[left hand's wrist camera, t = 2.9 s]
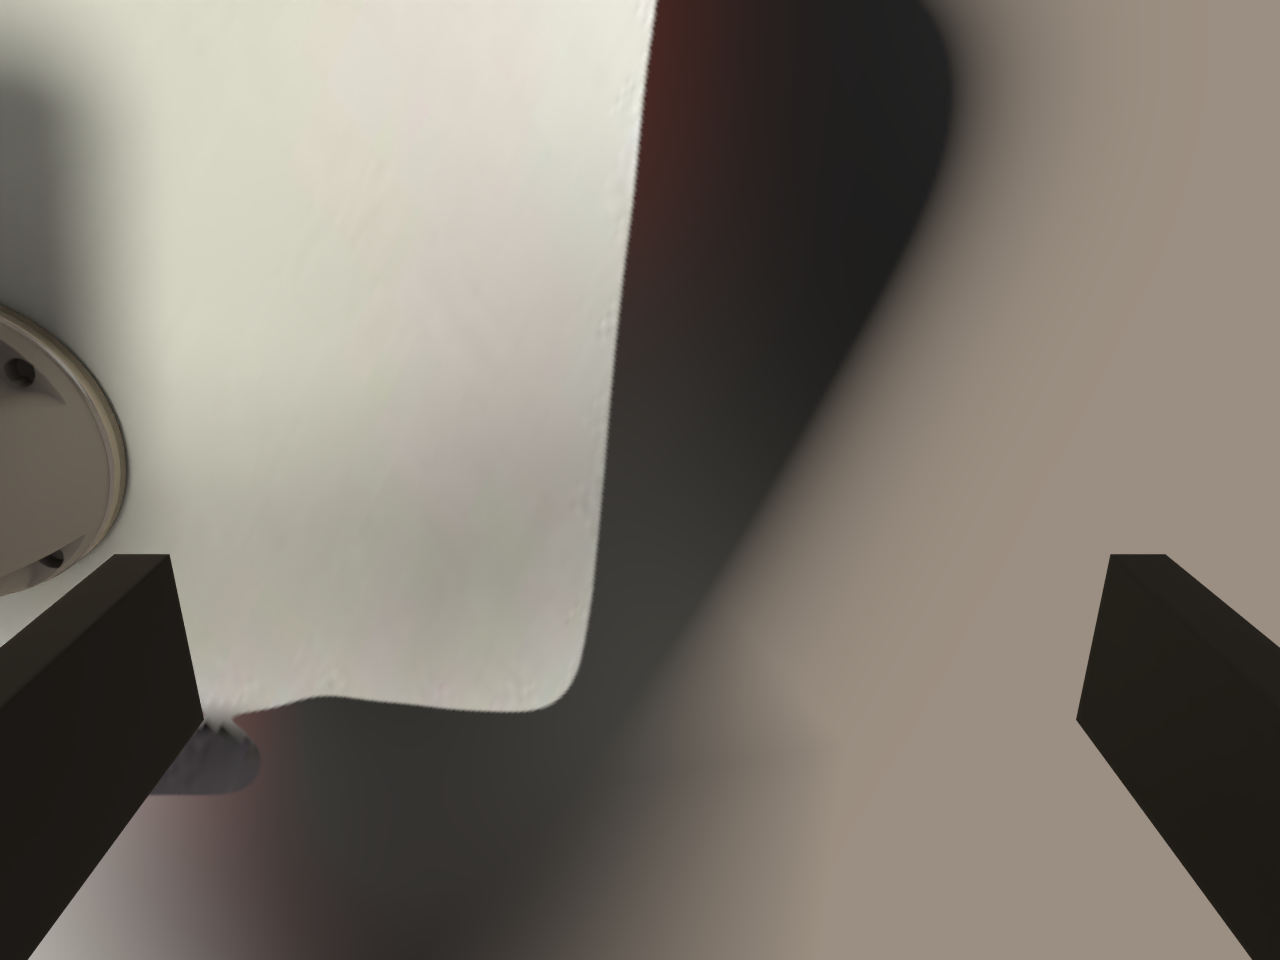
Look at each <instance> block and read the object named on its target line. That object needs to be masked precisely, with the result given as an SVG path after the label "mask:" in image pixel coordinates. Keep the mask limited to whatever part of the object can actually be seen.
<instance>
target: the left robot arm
mask: <svg viewBox="0 0 1280 960" xmlns="http://www.w3.org/2000/svg"><path fill="white" fill-rule="evenodd" d="M125 484H126V459H125V451H124V445H123V440H122V437H121V433H120V429H119V426H118V424H117V421H116V418H115V416H114V413H113V411H112V409H111V407H110V405H109V403H108V401H107V399H106V397H105V396H104V394H103V392H102V391H101V389H100V387H99V386H98V384H97V383H96V381H95V380H94V379H93V377H92V376H91V375H90V373H89V372H88V371H87V369H86V368H85V367H84V366H83V365H82V364H81V362H80V361H79V360H78V359H77V358H76V357H75V356H74V355H73V354H72V353H71V352H70V351H69V350H68V349H67V348H66V347H65V346H64V345H63V344H62V343H60V342H59V341H58V340H57V339H56V338H54V337H53V336H52V335H51V334H49V333H48V332H47V331H45V330H44V329H42V328H41V327H40V326H38V325H37V324H35V323H34V322H32V321H30V320H29V319H27V318H25V317H24V316H22V315H20V314H18V313H16V312H14V311H12V310H10V309H8V308H6V307H4V306H1V305H0V596H3V595H7V594H11V593H14V592H18V591H22V590H25V589H28V588H31V587H33V586H36V585H38V584H40V583H42V582H45V581H47V580H49V579H51V578H53V577H55V576H57V575H59V574H61V573H62V572H64V571H65V570H67V569H68V568H70V567H71V566H72V565H74V564H75V563H76V562H77V561H79V560H80V559H81V558H82V557H84V556H85V555H86V554H87V553H88V552H90V551H91V550H92V549H93V548H94V547H95V546H96V545H97V544H98V543H99V542H100V541H101V540H102V539H103V538H104V536H105V535H106V534H107V532H108V531H109V530H110V528H111V526H112V524H113V522H114V521H115V519H116V517H117V514H118V512H119V509H120V507H121V503H122V500H123V496H124V490H125ZM203 720H204V718H203V713H202V708H201V704H200V699H199V694H198V689H197V684H196V680H195V675H194V670H193V665H192V660H191V655H190V651H189V646H188V641H187V636H186V631H185V627H184V622H183V617H182V612H181V607H180V603H179V598H178V593H177V588H176V583H175V579H174V574H173V569H172V564H171V559H170V555H169V554H114V555H113V556H112V557H111V558H110V559H108V560H107V561H106V562H105V563H103V564H102V565H101V566H100V567H98V568H97V569H96V570H95V571H94V572H92V573H91V574H90V575H89V576H87V577H86V578H85V579H84V580H83V581H81V582H80V583H79V584H78V585H76V586H75V587H74V588H73V589H72V590H70V591H69V592H68V593H67V594H65V595H64V596H63V597H62V598H61V599H59V600H58V601H57V602H56V603H54V604H53V605H52V606H51V607H49V608H48V609H47V610H46V611H45V612H43V613H42V614H41V615H40V616H38V617H37V618H36V619H35V620H34V621H32V622H31V623H30V624H29V625H27V626H26V627H25V628H24V629H23V630H21V631H20V632H19V633H18V634H16V635H15V636H14V637H13V638H12V639H10V640H9V641H8V642H7V643H5V644H4V645H3V646H2V647H1V648H0V960H28V959H29V957H30V956H31V955H32V953H33V952H34V950H35V949H36V948H37V946H38V945H39V944H40V942H41V941H42V940H43V938H44V937H45V935H46V934H47V933H48V931H49V930H50V929H51V927H52V926H53V925H54V923H55V922H56V920H57V919H58V918H59V916H60V915H61V914H62V912H63V911H64V910H65V908H66V907H67V905H68V904H69V903H70V901H71V900H72V899H73V897H74V896H75V894H76V893H77V892H78V890H79V889H80V888H81V886H82V885H83V884H84V882H85V881H86V880H87V878H88V877H89V875H90V874H91V873H92V871H93V870H94V869H95V867H96V866H97V865H98V863H99V862H100V861H101V859H102V858H103V856H104V855H105V854H106V852H107V851H108V850H109V848H110V847H111V845H112V844H113V843H114V841H115V840H116V839H117V837H118V836H119V835H120V833H121V832H122V831H123V829H124V828H125V826H126V825H127V824H128V822H129V821H130V820H131V818H132V817H133V816H134V814H135V813H136V811H137V810H138V809H139V807H140V806H141V805H142V803H143V802H144V801H145V799H146V798H147V796H148V795H149V794H150V792H151V791H152V790H153V788H154V787H155V786H156V784H157V783H158V781H159V780H160V779H161V777H162V776H163V775H164V773H165V772H166V771H167V769H168V768H169V766H170V765H171V764H172V762H173V761H174V760H175V758H176V757H177V756H178V754H179V753H180V752H181V750H182V749H183V747H184V746H185V745H186V743H187V742H188V741H189V739H190V738H191V737H192V735H193V734H194V732H195V731H196V730H197V728H198V727H199V726H200V724H201V723H202V722H203ZM1076 720H1077V721H1078V723H1079V724H1080V726H1081V727H1082V728H1083V730H1084V731H1085V732H1086V734H1087V735H1088V737H1089V738H1090V739H1091V741H1092V742H1093V743H1094V745H1095V746H1096V747H1097V749H1098V750H1099V751H1100V753H1101V754H1102V756H1103V757H1104V758H1105V760H1106V761H1107V762H1108V764H1109V765H1110V766H1111V768H1112V769H1113V771H1114V772H1115V773H1116V775H1117V776H1118V777H1119V779H1120V780H1121V781H1122V783H1123V784H1124V786H1125V787H1126V788H1127V790H1128V791H1129V792H1130V794H1131V795H1132V796H1133V798H1134V799H1135V800H1136V802H1137V803H1138V805H1139V806H1140V807H1141V809H1142V810H1143V811H1144V813H1145V814H1146V816H1147V817H1148V818H1149V820H1150V821H1151V822H1152V824H1153V825H1154V826H1155V828H1156V829H1157V831H1158V832H1159V833H1160V835H1161V836H1162V837H1163V839H1164V840H1165V841H1166V843H1167V844H1168V846H1169V847H1170V848H1171V850H1172V851H1173V852H1174V854H1175V855H1176V856H1177V858H1178V859H1179V860H1180V862H1181V863H1182V865H1183V866H1184V867H1185V869H1186V870H1187V871H1188V873H1189V874H1190V875H1191V877H1192V878H1193V880H1194V881H1195V882H1196V884H1197V885H1198V886H1199V888H1200V889H1201V890H1202V892H1203V893H1204V895H1205V896H1206V897H1207V899H1208V900H1209V901H1210V903H1211V904H1212V905H1213V907H1214V908H1215V909H1216V911H1217V912H1218V914H1219V915H1220V916H1221V918H1222V919H1223V920H1224V922H1225V923H1226V925H1227V926H1228V927H1229V929H1230V930H1231V931H1232V933H1233V934H1234V935H1235V937H1236V938H1237V940H1238V941H1239V942H1240V944H1241V945H1242V946H1243V948H1244V949H1245V950H1246V952H1247V953H1248V955H1249V956H1250V957H1251V959H1252V960H1280V648H1279V647H1278V646H1277V645H1276V644H1275V643H1273V642H1272V641H1271V640H1270V639H1268V638H1267V637H1266V636H1265V635H1264V634H1262V633H1261V632H1260V631H1259V630H1257V629H1256V628H1255V627H1254V626H1253V625H1251V624H1250V623H1249V622H1248V621H1246V620H1245V619H1244V618H1243V617H1242V616H1240V615H1239V614H1238V613H1237V612H1235V611H1234V610H1233V609H1232V608H1230V607H1229V606H1228V605H1227V604H1226V603H1224V602H1223V601H1222V600H1221V599H1219V598H1218V597H1217V596H1216V595H1214V594H1213V593H1212V592H1211V591H1210V590H1208V589H1207V588H1206V587H1205V586H1204V585H1202V584H1201V583H1200V582H1199V581H1197V580H1196V579H1195V578H1194V577H1193V576H1191V575H1190V574H1189V573H1188V572H1186V571H1185V570H1184V569H1183V568H1181V567H1180V566H1179V565H1178V564H1177V563H1175V562H1174V561H1173V560H1172V559H1170V558H1169V557H1168V556H1167V555H1165V554H1111V555H1110V559H1109V564H1108V569H1107V574H1106V579H1105V584H1104V588H1103V593H1102V598H1101V603H1100V607H1099V612H1098V617H1097V622H1096V627H1095V632H1094V636H1093V641H1092V646H1091V651H1090V656H1089V660H1088V665H1087V670H1086V675H1085V680H1084V684H1083V689H1082V694H1081V699H1080V704H1079V708H1078V713H1077V718H1076Z"/></svg>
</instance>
